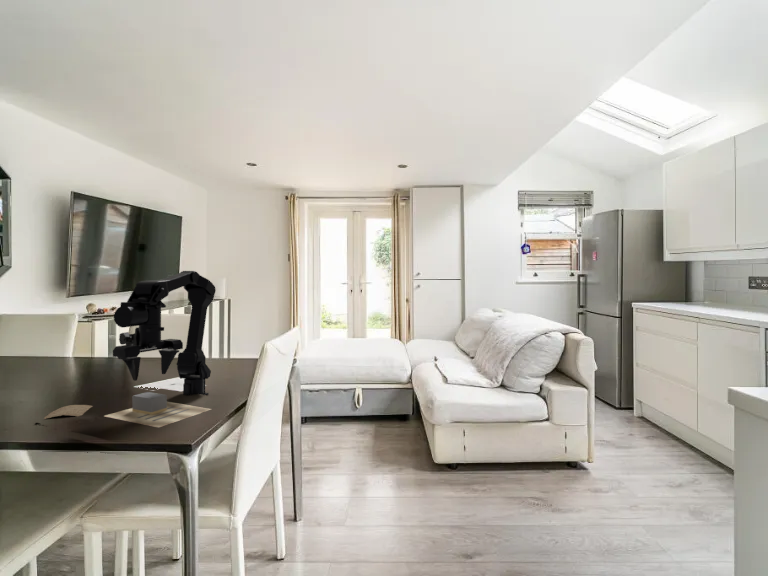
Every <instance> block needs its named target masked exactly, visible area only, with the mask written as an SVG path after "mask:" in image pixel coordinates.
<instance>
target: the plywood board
mask: <svg viewBox="0 0 768 576" xmlns="http://www.w3.org/2000/svg"><path fill="white" fill-rule="evenodd" d="M212 410H213V409H212V408H208V407H202V406H201V407H200V406H195V405H189V404H183V403H178V402H172V401H167V410H166V411H162V412H159V413H156V414H153V415H150V414H145V413H139V412H134V411H132V407H131V408H128V409H127V408H126V409H123V410H119V411H117V412H114V413H109V414H105V415H104V418H105V417H106V418H111V419H116V420H121V421H125V422H130V423H135V424H139V425H140V424H141V425H144V426H150V427H153V428H162V427H164V426H167V425H171V424H173V423H177V422H179V421H182V420H185V419H188V418H191V417H193V416H194V417H195V416H196V415H200V414H202V413H205V412H208V411H212Z"/></svg>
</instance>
